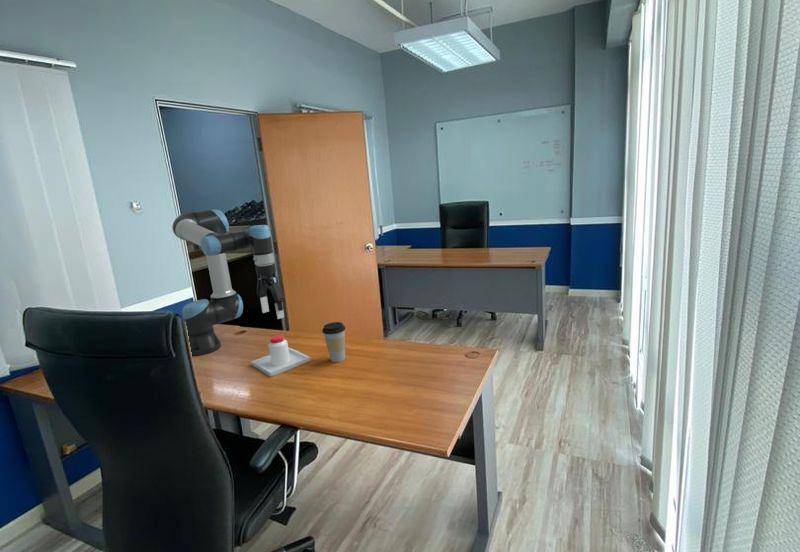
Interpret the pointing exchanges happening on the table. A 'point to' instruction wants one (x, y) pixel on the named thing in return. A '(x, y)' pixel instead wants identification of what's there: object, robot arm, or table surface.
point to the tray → (272, 370)
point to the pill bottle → (278, 350)
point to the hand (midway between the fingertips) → (273, 315)
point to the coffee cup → (335, 340)
